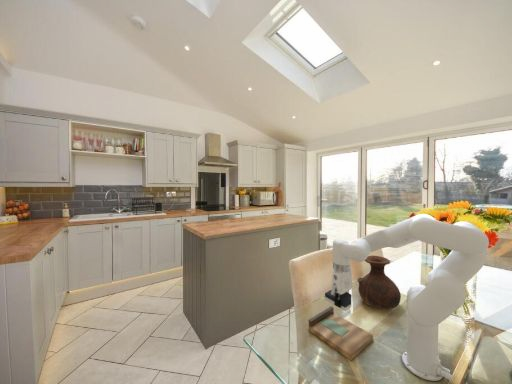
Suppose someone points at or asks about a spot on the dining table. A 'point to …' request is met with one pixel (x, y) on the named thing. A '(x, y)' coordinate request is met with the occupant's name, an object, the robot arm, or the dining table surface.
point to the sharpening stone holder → (339, 333)
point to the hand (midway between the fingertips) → (341, 303)
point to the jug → (378, 286)
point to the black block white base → (344, 299)
